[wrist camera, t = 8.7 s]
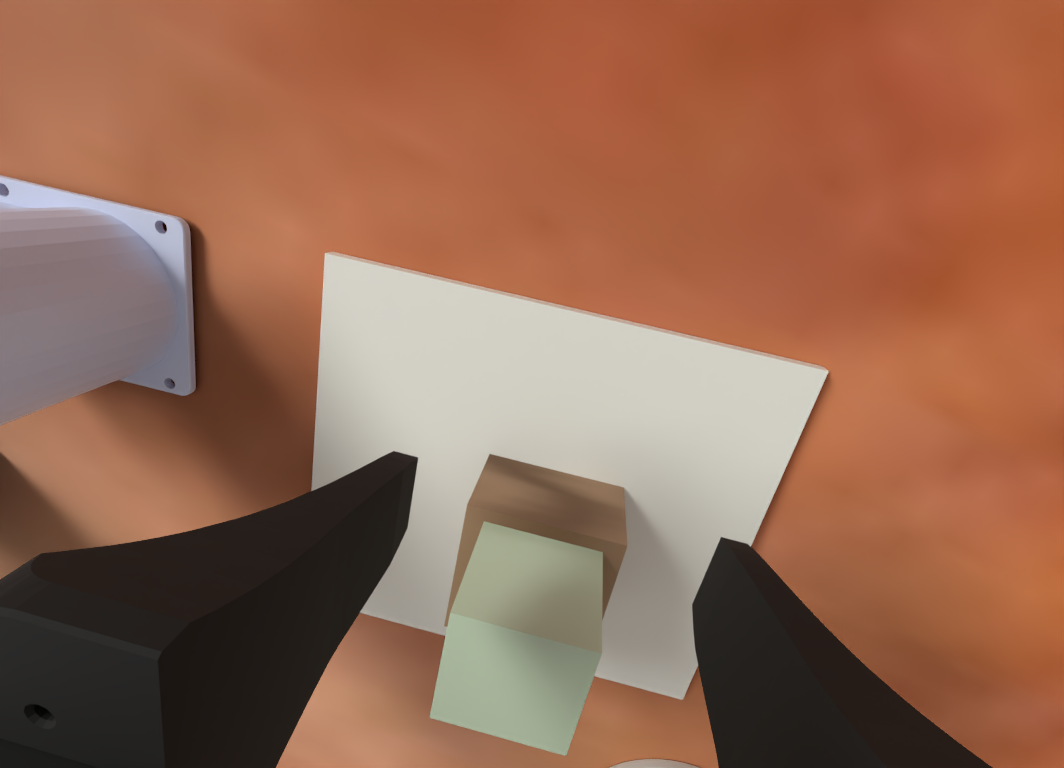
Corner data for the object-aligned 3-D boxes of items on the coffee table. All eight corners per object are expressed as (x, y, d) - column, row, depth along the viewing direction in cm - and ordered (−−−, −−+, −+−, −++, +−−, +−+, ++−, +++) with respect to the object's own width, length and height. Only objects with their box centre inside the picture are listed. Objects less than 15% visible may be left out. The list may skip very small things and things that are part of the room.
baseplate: (311, 589, 28) (305, 597, 27) (332, 251, 21) (325, 253, 21) (680, 689, 27) (682, 700, 26) (822, 366, 20) (828, 371, 20)
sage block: (464, 612, 21) (429, 717, 17) (484, 521, 19) (450, 612, 15) (574, 641, 21) (566, 755, 17) (602, 552, 19) (601, 653, 15)
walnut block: (468, 561, 25) (444, 626, 21) (489, 453, 23) (467, 504, 19) (590, 593, 25) (587, 664, 21) (623, 487, 23) (627, 545, 19)
